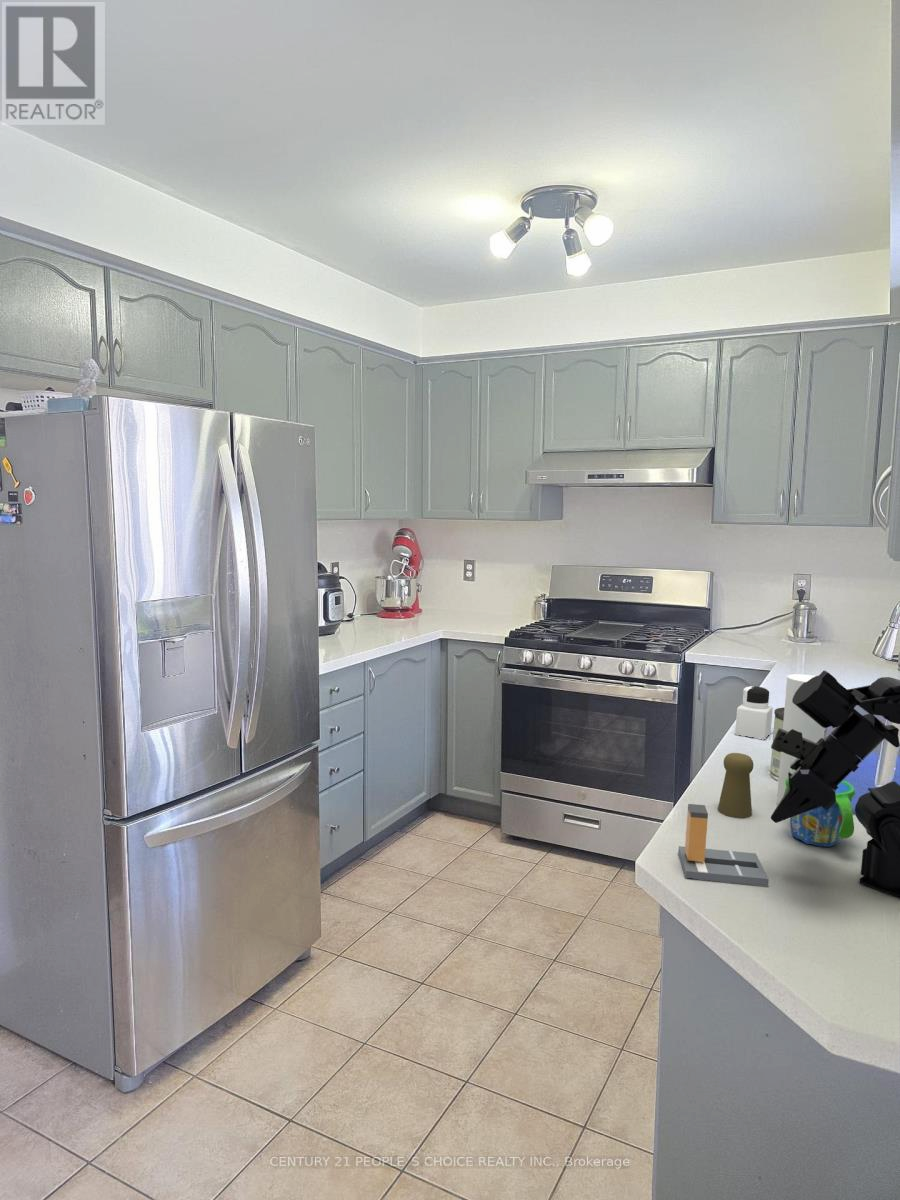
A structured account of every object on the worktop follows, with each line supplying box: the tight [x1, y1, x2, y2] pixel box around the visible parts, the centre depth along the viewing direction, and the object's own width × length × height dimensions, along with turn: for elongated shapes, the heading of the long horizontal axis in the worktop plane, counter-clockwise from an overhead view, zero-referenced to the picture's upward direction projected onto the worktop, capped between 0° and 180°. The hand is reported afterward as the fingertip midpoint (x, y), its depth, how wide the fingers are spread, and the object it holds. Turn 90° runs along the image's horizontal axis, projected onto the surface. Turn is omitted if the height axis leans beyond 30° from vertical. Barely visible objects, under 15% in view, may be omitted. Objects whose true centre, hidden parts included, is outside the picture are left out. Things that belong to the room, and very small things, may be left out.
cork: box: [717, 752, 755, 819], centre depth 149 cm, size 6×6×11 cm
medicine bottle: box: [734, 685, 773, 740], centre depth 200 cm, size 7×7×12 cm
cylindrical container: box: [776, 673, 825, 807], centre depth 151 cm, size 7×7×25 cm
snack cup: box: [784, 777, 856, 847], centre depth 138 cm, size 16×10×10 cm
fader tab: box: [684, 803, 709, 862], centre depth 126 cm, size 2×4×9 cm
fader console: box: [677, 845, 770, 887], centre depth 125 cm, size 12×9×1 cm
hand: (772, 820), depth 123 cm, fingers closed
